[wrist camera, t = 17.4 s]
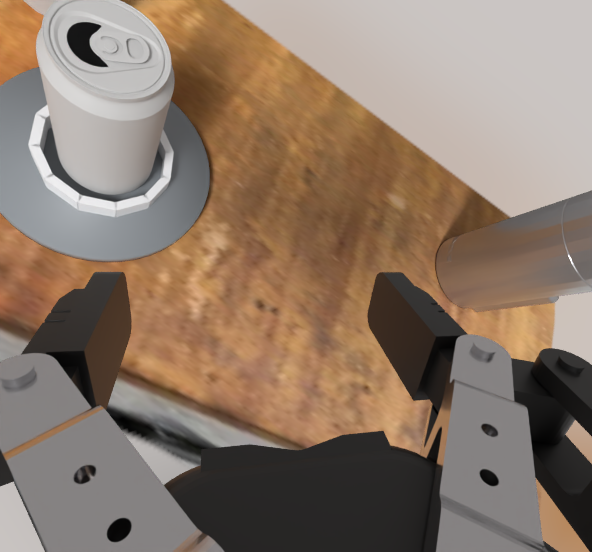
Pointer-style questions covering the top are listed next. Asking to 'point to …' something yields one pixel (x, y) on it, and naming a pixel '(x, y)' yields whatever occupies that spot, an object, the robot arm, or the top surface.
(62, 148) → the beverage can
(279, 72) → the top surface
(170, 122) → the dock
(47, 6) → the can
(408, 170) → the top surface
